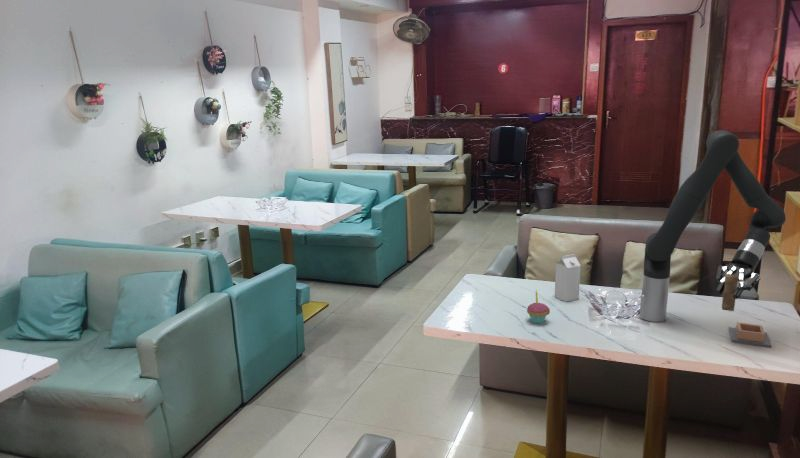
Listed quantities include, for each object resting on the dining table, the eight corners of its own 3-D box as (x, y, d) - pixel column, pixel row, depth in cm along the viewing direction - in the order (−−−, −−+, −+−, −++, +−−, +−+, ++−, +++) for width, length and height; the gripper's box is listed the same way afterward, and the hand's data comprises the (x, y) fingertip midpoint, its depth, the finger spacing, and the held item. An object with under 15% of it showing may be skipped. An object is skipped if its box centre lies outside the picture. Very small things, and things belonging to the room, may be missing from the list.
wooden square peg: (722, 309, 206) (726, 276, 203) (721, 306, 209) (725, 273, 207) (733, 311, 205) (738, 277, 202) (733, 307, 208) (737, 274, 205)
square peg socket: (731, 341, 210) (732, 331, 209) (728, 329, 220) (730, 319, 219) (771, 347, 205) (772, 337, 204) (766, 334, 215) (768, 324, 215)
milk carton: (554, 297, 255) (556, 254, 250) (567, 294, 258) (569, 251, 253) (565, 302, 249) (567, 258, 244) (578, 299, 252) (581, 256, 247)
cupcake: (522, 318, 233) (523, 289, 230) (540, 315, 236) (542, 286, 233) (534, 327, 225) (535, 296, 222) (553, 323, 228) (555, 293, 225)
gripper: (724, 244, 212) (702, 284, 208) (767, 253, 201) (745, 295, 197) (730, 256, 216) (709, 295, 213) (772, 266, 205) (751, 307, 201)
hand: (726, 295), depth 205 cm, fingers closed on wooden square peg, 4 cm apart
